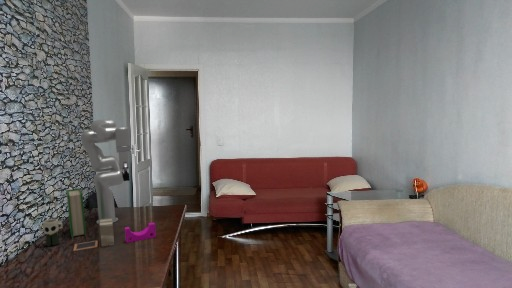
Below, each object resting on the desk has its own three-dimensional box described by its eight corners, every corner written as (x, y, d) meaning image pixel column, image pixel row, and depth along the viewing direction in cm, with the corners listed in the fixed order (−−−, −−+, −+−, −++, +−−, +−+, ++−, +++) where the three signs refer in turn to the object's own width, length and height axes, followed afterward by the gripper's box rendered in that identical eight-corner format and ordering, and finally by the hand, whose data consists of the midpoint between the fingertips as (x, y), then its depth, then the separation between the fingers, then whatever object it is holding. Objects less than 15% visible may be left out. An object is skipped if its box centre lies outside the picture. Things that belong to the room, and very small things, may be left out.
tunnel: (101, 239, 194) (100, 219, 193) (113, 237, 196) (112, 217, 195) (101, 247, 183) (99, 225, 182) (114, 244, 185) (112, 223, 184)
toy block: (153, 234, 199) (152, 221, 199) (156, 237, 194) (154, 224, 193) (125, 239, 192) (124, 226, 192) (126, 243, 187) (125, 229, 186)
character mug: (39, 248, 185) (37, 224, 184) (42, 244, 192) (39, 220, 190) (63, 244, 189) (61, 220, 188) (65, 240, 195) (62, 217, 194)
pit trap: (74, 244, 188) (74, 244, 188) (97, 241, 192) (97, 240, 192) (73, 251, 179) (73, 250, 179) (97, 247, 183) (97, 246, 183)
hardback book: (86, 235, 203) (82, 193, 201) (71, 237, 200) (67, 195, 198) (83, 227, 219) (80, 188, 217) (70, 229, 215) (66, 190, 213)
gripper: (115, 148, 208) (118, 178, 209) (116, 151, 192) (119, 182, 193) (129, 147, 210) (132, 176, 212) (131, 149, 194) (134, 181, 196)
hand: (126, 179), depth 202 cm, fingers open, 9 cm apart
